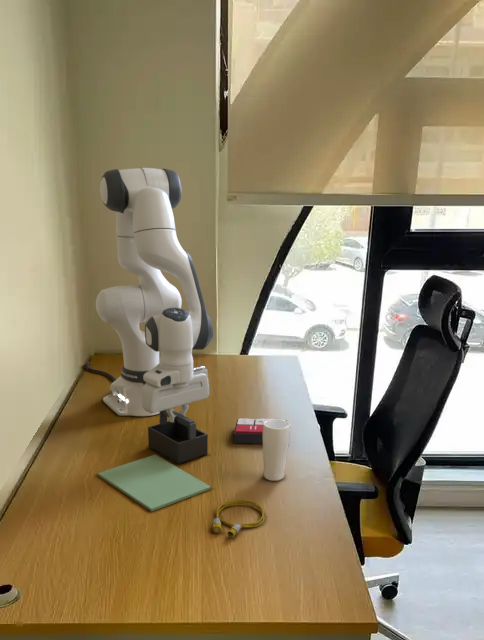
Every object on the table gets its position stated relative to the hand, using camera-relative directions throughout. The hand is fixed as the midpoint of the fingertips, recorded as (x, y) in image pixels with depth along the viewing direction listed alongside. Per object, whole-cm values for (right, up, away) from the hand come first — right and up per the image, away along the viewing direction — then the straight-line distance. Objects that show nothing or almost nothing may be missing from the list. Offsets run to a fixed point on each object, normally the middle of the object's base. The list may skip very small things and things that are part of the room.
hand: (177, 420), depth 188 cm
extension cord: (+16, -25, -29) cm, 41 cm away
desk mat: (-5, -17, -13) cm, 22 cm away
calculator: (+23, -4, +14) cm, 28 cm away
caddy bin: (0, -8, +4) cm, 9 cm away
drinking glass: (+26, -16, -9) cm, 31 cm away
